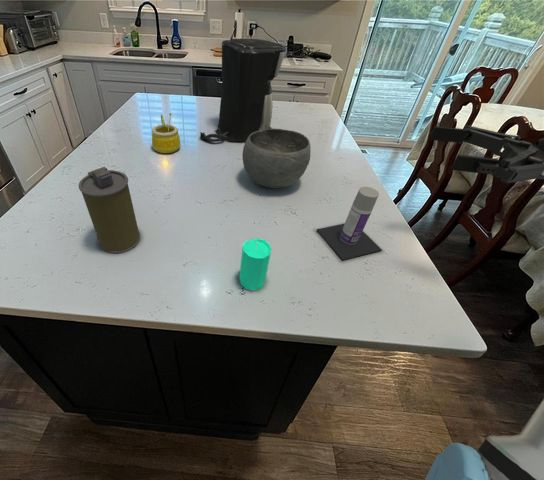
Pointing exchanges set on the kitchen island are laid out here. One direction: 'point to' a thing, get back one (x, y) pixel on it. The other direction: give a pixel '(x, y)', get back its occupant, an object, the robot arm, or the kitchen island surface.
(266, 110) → the coffee maker
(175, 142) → the mug
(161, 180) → the kitchen island surface
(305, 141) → the bowl
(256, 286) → the candle
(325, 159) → the kitchen island surface
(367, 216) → the container
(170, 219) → the kitchen island surface
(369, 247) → the mat
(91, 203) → the canister
